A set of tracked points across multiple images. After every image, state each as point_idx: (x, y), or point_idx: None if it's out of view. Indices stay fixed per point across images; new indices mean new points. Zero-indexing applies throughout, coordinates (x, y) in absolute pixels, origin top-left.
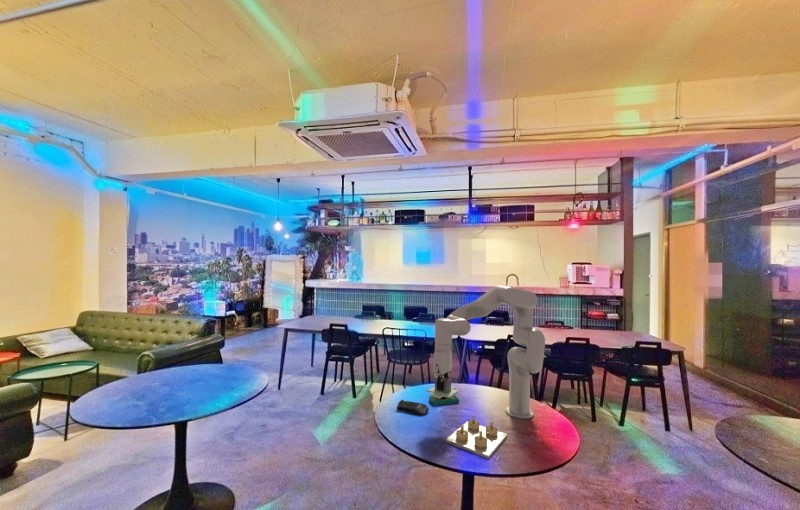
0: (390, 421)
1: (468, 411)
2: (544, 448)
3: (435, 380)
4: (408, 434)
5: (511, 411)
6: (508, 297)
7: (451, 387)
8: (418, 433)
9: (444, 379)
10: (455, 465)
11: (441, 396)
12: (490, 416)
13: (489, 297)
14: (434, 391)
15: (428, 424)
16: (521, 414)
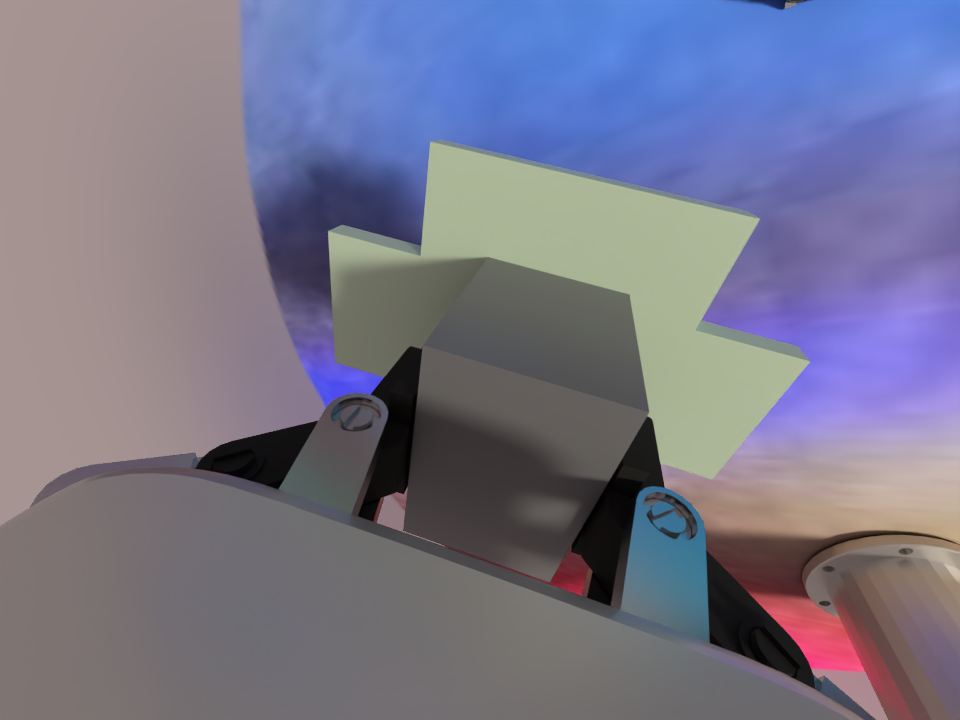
0: None
1: (896, 346)
2: (555, 575)
3: (435, 340)
4: (359, 35)
5: (870, 563)
6: None
7: (684, 440)
8: (410, 103)
9: (482, 505)
10: (299, 357)
11: (375, 368)
12: (814, 463)
13: None
14: (435, 269)
15: (565, 117)
16: (829, 589)
